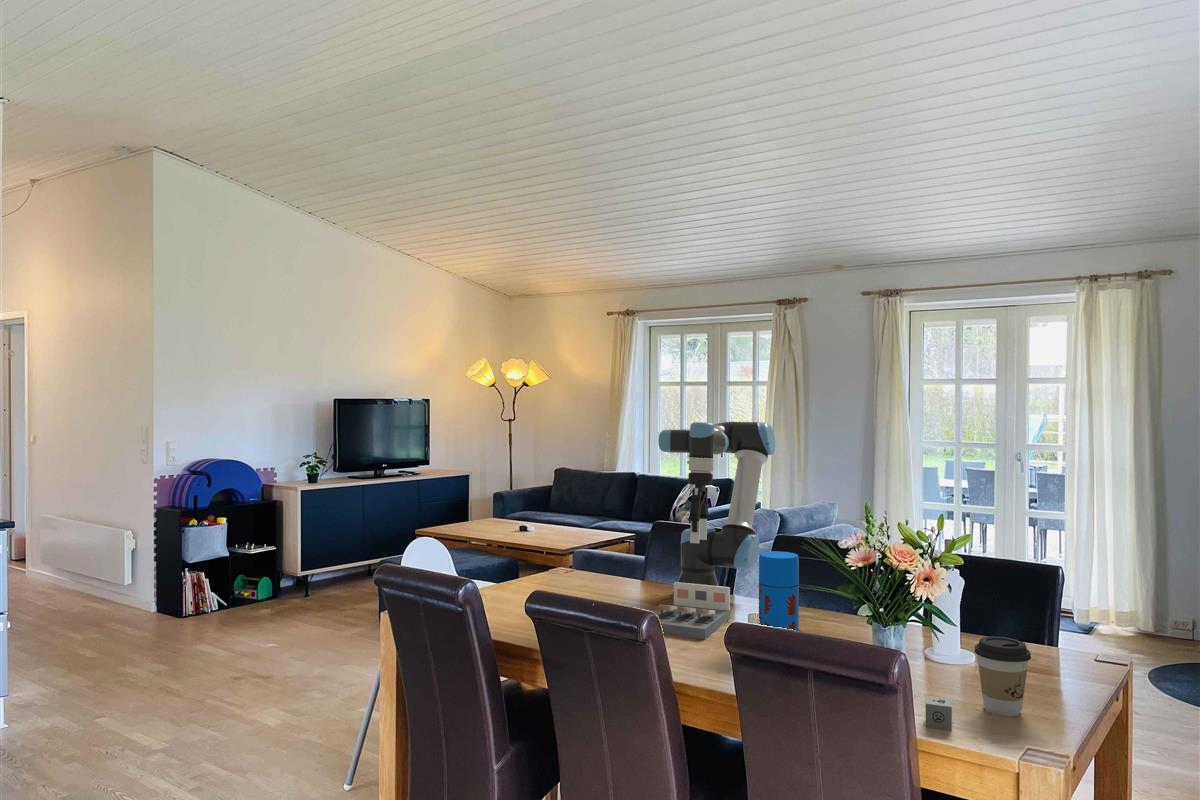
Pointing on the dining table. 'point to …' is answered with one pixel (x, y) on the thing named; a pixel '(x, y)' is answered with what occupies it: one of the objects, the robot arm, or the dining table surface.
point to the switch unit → (699, 599)
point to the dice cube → (939, 713)
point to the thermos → (779, 589)
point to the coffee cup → (1002, 674)
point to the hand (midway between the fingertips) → (698, 541)
